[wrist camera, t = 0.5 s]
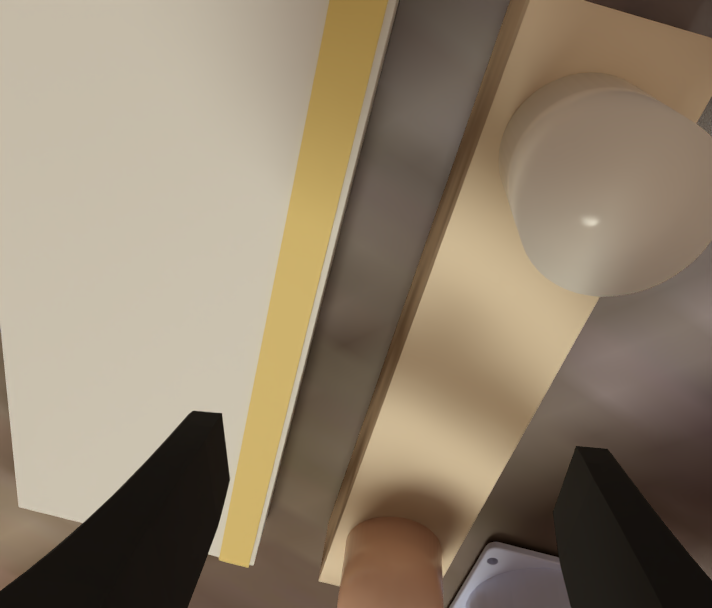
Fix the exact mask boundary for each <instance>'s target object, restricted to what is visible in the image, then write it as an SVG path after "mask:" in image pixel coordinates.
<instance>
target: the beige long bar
mask: <svg viewBox="0 0 712 608" xmlns="http://www.w3.org/2000/svg"><path fill="white" fill-rule="evenodd" d="M588 72H595V73H605V74H610V75H614V76H617V77H619V78H622V79H624V80H626V81H628V82H629V83H631V84H633V85H635V86H636V87H638V88H639V89H641V90H643V91H644V92H646V93H647V94H649V95H651V96H652V97H654V98H656V99H657V100H659V101H660V102H662V103H664V104H665V105H667V106H668V107H670V108H672V109H673V110H675V111H676V112H678V113H680V114H681V115H683V116H685V117H686V118H688V119H689V120H691V121H693V122H694V123H697V122H698V120H699V118H700V116H701V115H702V113H703V111H704V109H705V107H706V106H707V104H708V102H709V100H710V98H711V97H712V38H710V37H706V36H703V35H700V34H696V33H693V32H690V31H686V30H683V29H679V28H676V27H673V26H669V25H666V24H662V23H659V22H656V21H652V20H649V19H645V18H642V17H639V16H635V15H632V14H628V13H625V12H622V11H618V10H615V9H612V8H608V7H605V6H601V5H598V4H595V3H591V2H588V1H584V0H510V3H509V5H508V8H507V11H506V14H505V17H504V20H503V23H502V26H501V28H500V31H499V34H498V37H497V40H496V43H495V46H494V49H493V51H492V54H491V57H490V60H489V63H488V66H487V69H486V72H485V74H484V77H483V80H482V83H481V86H480V89H479V92H478V95H477V97H476V100H475V103H474V106H473V109H472V112H471V115H470V118H469V120H468V123H467V126H466V129H465V132H464V135H463V138H462V141H461V143H460V146H459V149H458V152H457V155H456V158H455V161H454V163H453V166H452V169H451V172H450V175H449V178H448V181H447V184H446V186H445V189H444V192H443V195H442V198H441V201H440V204H439V207H438V209H437V212H436V215H435V218H434V221H433V224H432V227H431V230H430V232H429V235H428V238H427V241H426V244H425V247H424V250H423V253H422V255H421V258H420V261H419V264H418V267H417V270H416V273H415V276H414V278H413V281H412V284H411V287H410V290H409V293H408V296H407V299H406V301H405V304H404V307H403V310H402V313H401V316H400V319H399V321H398V324H397V327H396V330H395V333H394V336H393V339H392V342H391V344H390V347H389V350H388V353H387V356H386V359H385V362H384V365H383V367H382V370H381V373H380V376H379V379H378V382H377V385H376V388H375V390H374V393H373V396H372V399H371V402H370V405H369V408H368V411H367V413H366V416H365V419H364V422H363V425H362V428H361V431H360V434H359V436H358V439H357V442H356V445H355V448H354V451H353V454H352V456H351V459H350V462H349V465H348V468H347V471H346V474H345V477H344V479H343V482H342V485H341V488H340V491H339V494H338V497H337V500H336V502H335V505H334V508H333V511H332V514H331V517H330V520H329V523H328V529H327V535H326V540H325V546H324V552H323V558H322V564H321V569H320V575H319V581H320V582H324V583H328V584H332V585H337V586H340V582H341V575H342V567H343V560H344V552H345V545H346V539H347V536H348V534H349V533H350V531H351V530H352V529H353V528H354V527H355V526H357V525H358V524H360V523H362V522H364V521H366V520H369V519H373V518H377V517H401V518H406V519H409V520H413V521H415V522H418V523H420V524H422V525H424V526H425V527H427V528H428V529H430V530H431V531H432V532H433V533H434V534H435V535H436V536H437V538H438V539H439V541H440V544H441V548H442V575H443V577H444V575H445V573H446V571H447V569H448V568H449V566H450V564H451V562H452V560H453V559H454V557H455V555H456V553H457V552H458V550H459V548H460V546H461V544H462V543H463V541H464V539H465V537H466V535H467V534H468V532H469V530H470V528H471V526H472V525H473V523H474V521H475V519H476V517H477V516H478V514H479V512H480V510H481V509H482V507H483V505H484V503H485V501H486V500H487V498H488V496H489V494H490V492H491V491H492V489H493V487H494V485H495V483H496V482H497V480H498V478H499V476H500V475H501V473H502V471H503V469H504V467H505V466H506V464H507V462H508V460H509V458H510V457H511V455H512V453H513V451H514V449H515V448H516V446H517V444H518V442H519V440H520V439H521V437H522V435H523V433H524V432H525V430H526V428H527V426H528V424H529V423H530V421H531V419H532V417H533V415H534V414H535V412H536V410H537V408H538V406H539V405H540V403H541V401H542V399H543V397H544V396H545V394H546V392H547V390H548V389H549V387H550V385H551V383H552V381H553V380H554V378H555V376H556V374H557V372H558V371H559V369H560V367H561V365H562V363H563V362H564V360H565V358H566V356H567V355H568V353H569V351H570V349H571V347H572V346H573V344H574V342H575V340H576V338H577V337H578V335H579V333H580V331H581V329H582V328H583V326H584V324H585V322H586V320H587V319H588V317H589V315H590V313H591V312H592V310H593V308H594V306H595V304H596V303H597V301H598V299H599V297H598V296H588V295H583V294H578V293H575V292H572V291H569V290H566V289H564V288H562V287H560V286H558V285H556V284H554V283H553V282H551V281H550V280H548V279H547V278H546V277H545V276H543V275H542V274H541V273H540V272H539V271H538V270H537V269H536V267H535V266H534V265H533V264H532V263H531V261H530V259H529V258H528V256H527V254H526V252H525V250H524V247H523V245H522V242H521V239H520V236H519V233H518V230H517V227H516V224H515V221H514V218H513V215H512V212H511V208H510V205H509V202H508V199H507V196H506V193H505V190H504V187H503V184H502V181H501V177H500V173H499V163H498V161H499V149H500V143H501V140H502V137H503V134H504V131H505V129H506V127H507V125H508V123H509V121H510V119H511V118H512V116H513V115H514V113H515V112H516V111H517V109H518V108H519V107H520V106H521V104H522V103H523V102H524V101H525V100H526V99H527V98H528V97H530V96H531V95H532V94H533V93H535V92H536V91H537V90H539V89H540V88H542V87H543V86H545V85H547V84H548V83H550V82H553V81H555V80H557V79H559V78H562V77H565V76H568V75H573V74H578V73H588Z"/></svg>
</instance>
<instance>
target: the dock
mask: <svg viewBox="0 0 712 608" xmlns="http://www.w3.org/2000/svg"><path fill="white" fill-rule="evenodd" d="M398 3H399V0H0V327H1V337H2V347H3V357H4V367H5V376H6V386H7V396H8V406H9V416H10V426H11V436H12V446H13V456H14V466H15V476H16V485H17V495H18V505H19V507H21V508H25V509H29V510H33V511H37V512H41V513H45V514H49V515H53V516H57V517H61V518H65V519H69V520H73V521H77V522H81V523H84V522H85V521H86V520H87V519H88V518H89V517H90V516H91V515H92V514H93V513H94V512H95V511H96V510H97V509H98V508H100V507H101V506H102V505H103V504H104V503H105V502H106V501H107V500H108V499H109V498H110V497H111V496H112V495H113V494H114V493H115V492H116V491H117V490H118V489H119V488H120V487H121V486H122V485H123V484H124V483H125V482H126V481H127V480H128V479H129V478H130V477H131V476H132V475H133V474H134V473H135V472H136V471H137V470H138V469H139V468H140V467H141V466H142V465H143V464H144V463H145V462H146V461H147V460H148V458H149V457H150V456H151V455H152V454H153V453H154V452H155V451H156V450H157V449H158V448H159V447H160V445H161V444H162V443H163V442H164V441H165V440H166V439H167V438H168V437H169V436H170V434H171V433H172V432H173V431H174V430H175V429H176V428H177V427H178V425H179V424H180V423H181V422H182V421H183V420H184V419H185V418H186V416H187V415H188V414H189V413H191V412H192V411H203V412H214V413H222V418H223V426H224V434H225V442H226V451H227V459H228V467H229V475H230V482H229V486H228V490H227V494H226V498H225V502H224V506H223V510H222V514H221V518H220V521H219V525H218V528H217V531H216V534H215V537H214V539H213V542H212V545H211V547H210V550H209V553H208V554H209V555H213V556H217V557H219V560H220V561H224V562H228V563H232V564H236V565H240V566H244V567H249V565H254V562H255V558H256V555H257V551H258V548H259V544H260V541H261V537H262V534H263V530H264V527H265V523H266V520H267V516H268V512H269V508H270V504H271V500H272V496H273V492H274V488H275V484H276V481H277V477H278V473H279V469H280V465H281V461H282V457H283V453H284V449H285V445H286V441H287V438H288V434H289V430H290V426H291V422H292V418H293V414H294V410H295V406H296V402H297V398H298V394H299V391H300V387H301V383H302V379H303V375H304V371H305V367H306V363H307V359H308V355H309V351H310V347H311V344H312V340H313V336H314V332H315V328H316V324H317V320H318V316H319V312H320V308H321V304H322V301H323V297H324V293H325V289H326V285H327V281H328V277H329V273H330V269H331V265H332V261H333V257H334V254H335V250H336V246H337V242H338V238H339V234H340V230H341V226H342V222H343V218H344V214H345V210H346V207H347V203H348V199H349V195H350V191H351V187H352V183H353V179H354V175H355V171H356V167H357V164H358V160H359V156H360V152H361V148H362V144H363V140H364V136H365V132H366V128H367V124H368V120H369V117H370V113H371V109H372V105H373V101H374V97H375V93H376V89H377V85H378V81H379V77H380V73H381V70H382V66H383V62H384V58H385V54H386V50H387V46H388V42H389V38H390V34H391V30H392V27H393V23H394V19H395V15H396V11H397V7H398Z"/></svg>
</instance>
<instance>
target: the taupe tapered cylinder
mask: <svg viewBox="0 0 712 608" xmlns="http://www.w3.org/2000/svg"><path fill="white" fill-rule="evenodd" d="M498 163H499V173H500V177H501V181H502V184H503V187H504V190H505V193H506V196H507V199H508V202H509V205H510V208H511V212H512V215H513V218H514V221H515V224H516V227H517V230H518V233H519V236H520V239H521V242H522V245H523V247H524V250H525V252H526V254H527V256H528V258H529V259H530V261H531V263H532V264H533V265H534V266H535V267H536V269H537V270H538V271H539V272H540V273H541V274H542V275H543V276H545V277H546V278H547V279H548V280H550V281H551V282H553V283H554V284H556V285H558V286H560V287H562V288H564V289H566V290H569V291H572V292H575V293H578V294H583V295H588V296H598V297H612V296H621V295H628V294H632V293H636V292H640V291H643V290H646V289H649V288H652V287H654V286H656V285H658V284H661V283H663V282H665V281H666V280H668V279H670V278H672V277H673V276H675V275H676V274H678V273H679V272H681V271H682V270H683V269H685V268H686V267H687V266H688V265H690V264H691V263H692V262H693V261H694V260H695V259H696V258H697V257H698V256H699V255H700V254H701V253H702V252H703V251H704V250H705V248H706V247H707V246H708V244H709V243H710V242H711V240H712V137H711V136H710V135H709V134H708V133H707V132H706V131H705V130H704V129H702V128H701V127H700V126H699V125H697V124H696V123H694V122H693V121H691V120H689V119H688V118H686V117H685V116H683V115H681V114H680V113H678V112H676V111H675V110H673V109H672V108H670V107H668V106H667V105H665V104H664V103H662V102H660V101H659V100H657V99H656V98H654V97H652V96H651V95H649V94H647V93H646V92H644V91H643V90H641V89H639V88H638V87H636V86H635V85H633V84H631V83H629V82H628V81H626V80H624V79H622V78H619V77H617V76H614V75H610V74H605V73H595V72H588V73H578V74H573V75H568V76H565V77H562V78H559V79H557V80H555V81H553V82H550V83H548V84H547V85H545V86H543V87H542V88H540V89H539V90H537V91H536V92H535V93H533V94H532V95H531V96H530V97H528V98H527V99H526V100H525V101H524V102H523V103H522V104H521V106H520V107H519V108H518V109H517V111H516V112H515V113H514V115H513V116H512V118H511V119H510V121H509V123H508V125H507V127H506V129H505V131H504V134H503V137H502V140H501V143H500V149H499V161H498Z"/></svg>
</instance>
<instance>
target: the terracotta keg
mask: <svg viewBox="0 0 712 608" xmlns="http://www.w3.org/2000/svg"><path fill="white" fill-rule="evenodd" d="M337 608H443V575H442V548H441V544H440V541H439V539H438V538H437V536H436V535H435V534H434V533H433V532H432V531H431V530H430V529H428V528H427V527H425V526H424V525H422V524H420V523H418V522H415V521H413V520H409V519H406V518H401V517H377V518H373V519H369V520H366V521H364V522H362V523H360V524H358V525H357V526H355V527H354V528H353V529H352V530H351V531H350V533H349V534H348V536H347V539H346V545H345V552H344V560H343V567H342V575H341V582H340V590H339V597H338V605H337Z"/></svg>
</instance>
